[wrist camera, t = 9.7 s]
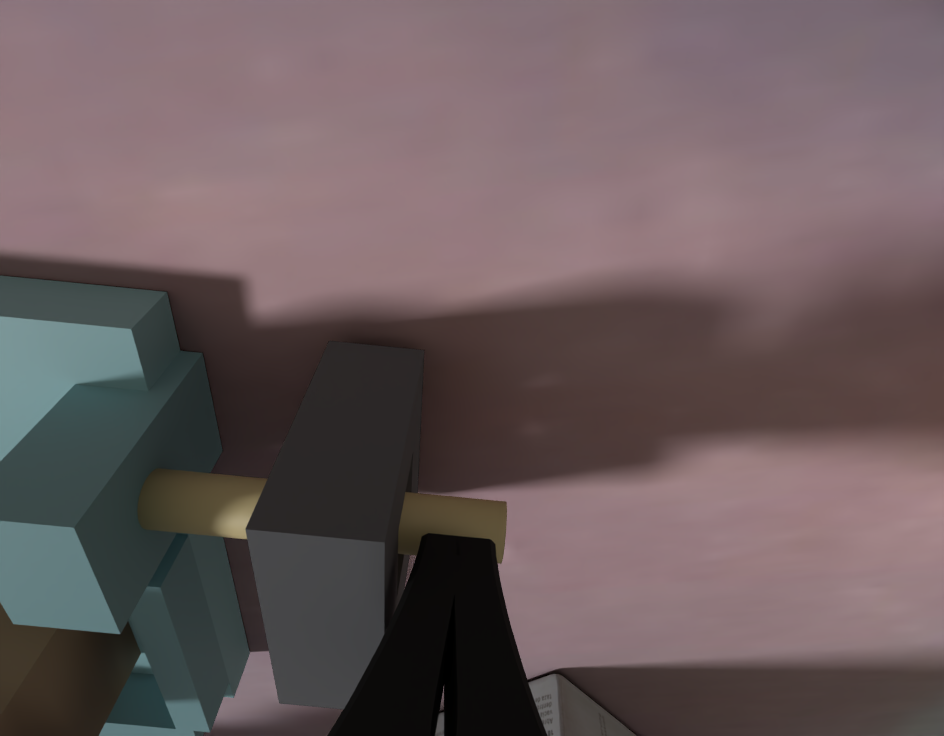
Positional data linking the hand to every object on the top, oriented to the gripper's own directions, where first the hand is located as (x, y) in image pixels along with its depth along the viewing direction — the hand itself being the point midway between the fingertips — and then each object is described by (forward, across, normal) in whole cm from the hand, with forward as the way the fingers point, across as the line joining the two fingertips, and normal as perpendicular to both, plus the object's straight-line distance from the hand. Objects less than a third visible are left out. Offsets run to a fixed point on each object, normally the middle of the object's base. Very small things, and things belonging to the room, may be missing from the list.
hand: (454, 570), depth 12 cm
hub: (+4, +2, 0) cm, 5 cm away
